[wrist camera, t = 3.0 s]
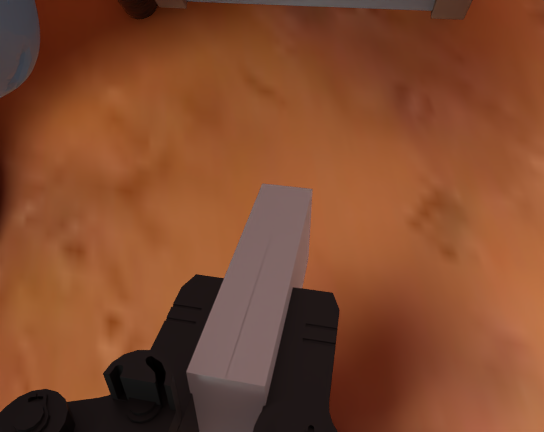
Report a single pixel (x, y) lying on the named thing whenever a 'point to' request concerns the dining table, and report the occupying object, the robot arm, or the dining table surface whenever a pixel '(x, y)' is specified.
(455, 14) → the gate leaf
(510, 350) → the dining table surface
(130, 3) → the gate posts
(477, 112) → the dining table surface
